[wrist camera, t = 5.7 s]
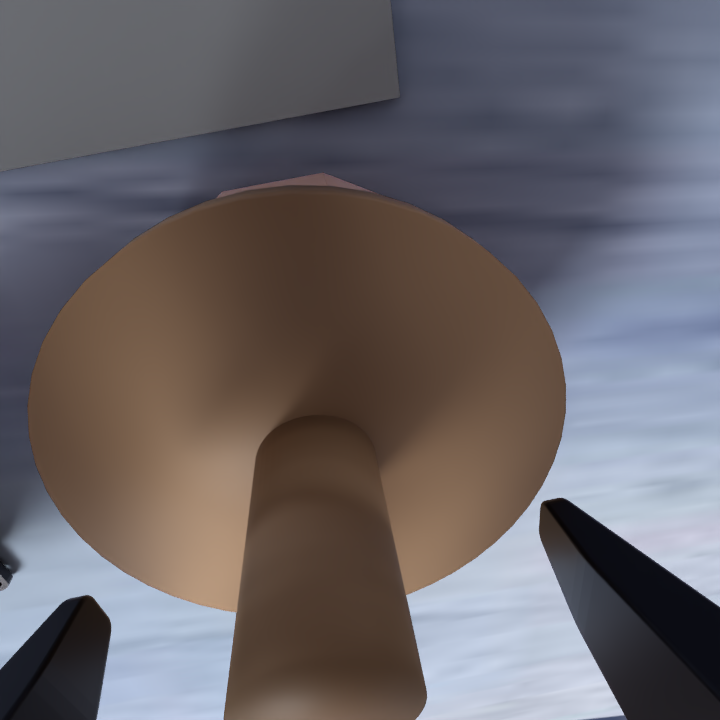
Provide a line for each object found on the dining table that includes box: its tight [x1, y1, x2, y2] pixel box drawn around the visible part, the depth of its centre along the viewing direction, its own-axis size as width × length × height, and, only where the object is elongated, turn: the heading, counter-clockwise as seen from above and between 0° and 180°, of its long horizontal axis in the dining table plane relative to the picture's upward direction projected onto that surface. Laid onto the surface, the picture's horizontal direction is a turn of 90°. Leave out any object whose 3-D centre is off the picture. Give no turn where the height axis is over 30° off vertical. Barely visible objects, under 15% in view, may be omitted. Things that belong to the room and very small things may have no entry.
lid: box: [27, 185, 566, 720], centre depth 9 cm, size 12×12×6 cm
